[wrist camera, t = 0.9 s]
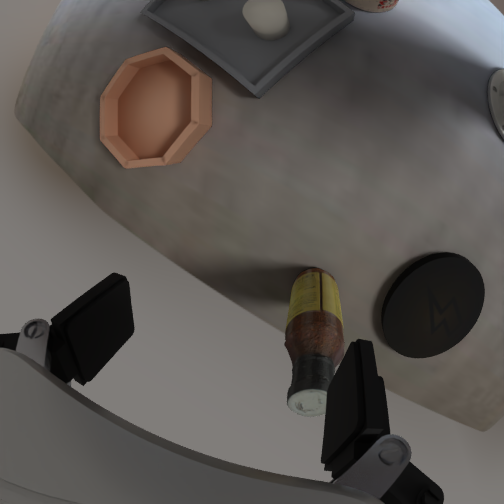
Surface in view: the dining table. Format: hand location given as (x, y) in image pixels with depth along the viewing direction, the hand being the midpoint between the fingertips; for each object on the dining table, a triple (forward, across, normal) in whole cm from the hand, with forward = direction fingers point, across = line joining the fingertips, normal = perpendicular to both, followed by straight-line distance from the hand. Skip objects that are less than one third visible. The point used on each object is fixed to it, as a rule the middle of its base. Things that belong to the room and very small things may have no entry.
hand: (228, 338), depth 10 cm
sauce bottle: (+26, -6, +10) cm, 28 cm away
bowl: (+25, +20, -10) cm, 34 cm away
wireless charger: (+26, -25, +10) cm, 37 cm away
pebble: (+25, +6, -23) cm, 34 cm away
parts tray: (+25, +11, -26) cm, 38 cm away
